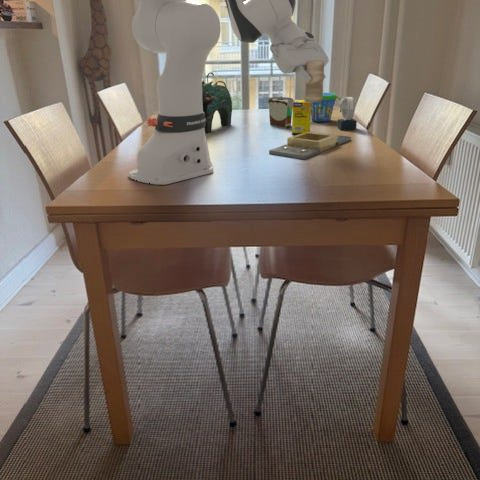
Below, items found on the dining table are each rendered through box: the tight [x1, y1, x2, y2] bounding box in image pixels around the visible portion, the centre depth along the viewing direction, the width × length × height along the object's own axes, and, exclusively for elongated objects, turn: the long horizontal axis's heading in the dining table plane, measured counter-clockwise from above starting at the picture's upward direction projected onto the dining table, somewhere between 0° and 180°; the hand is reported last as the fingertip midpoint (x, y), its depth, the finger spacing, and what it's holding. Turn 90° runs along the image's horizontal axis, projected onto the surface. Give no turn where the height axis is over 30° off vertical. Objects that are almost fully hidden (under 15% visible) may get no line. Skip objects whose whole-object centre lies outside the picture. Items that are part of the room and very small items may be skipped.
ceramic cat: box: [202, 72, 233, 134], centre depth 163 cm, size 20×6×20 cm, turn 150°
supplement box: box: [291, 99, 312, 136], centre depth 153 cm, size 6×6×11 cm
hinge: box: [268, 131, 352, 160], centre depth 137 cm, size 29×12×3 cm, turn 142°
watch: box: [337, 96, 358, 131], centre depth 159 cm, size 6×8×11 cm
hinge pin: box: [304, 60, 325, 102], centre depth 129 cm, size 5×5×11 cm
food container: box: [267, 96, 295, 129], centre depth 167 cm, size 12×6×10 cm, turn 34°
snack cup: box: [302, 92, 342, 123], centre depth 174 cm, size 16×10×10 cm
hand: (316, 80), depth 129 cm, fingers closed on hinge pin, 5 cm apart
